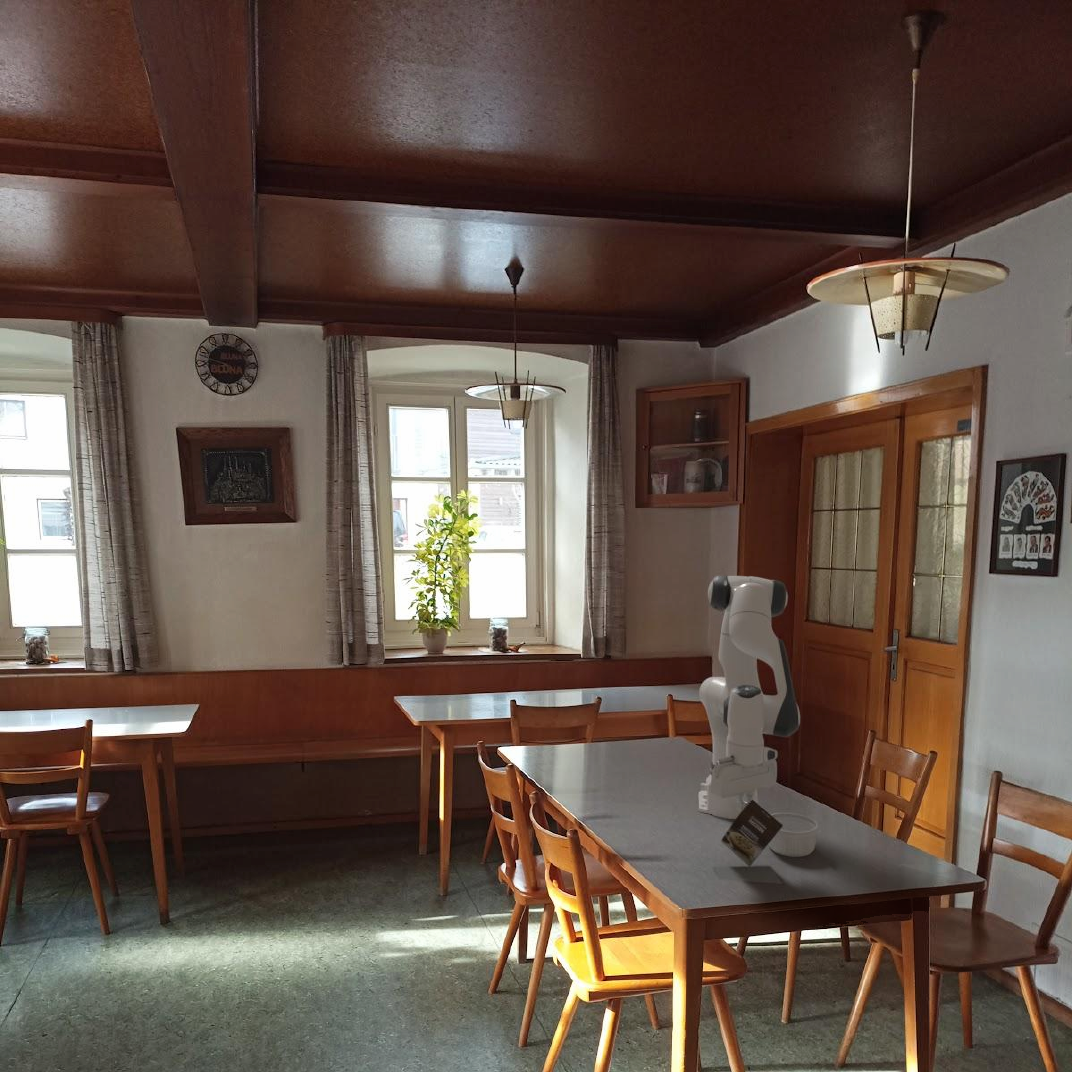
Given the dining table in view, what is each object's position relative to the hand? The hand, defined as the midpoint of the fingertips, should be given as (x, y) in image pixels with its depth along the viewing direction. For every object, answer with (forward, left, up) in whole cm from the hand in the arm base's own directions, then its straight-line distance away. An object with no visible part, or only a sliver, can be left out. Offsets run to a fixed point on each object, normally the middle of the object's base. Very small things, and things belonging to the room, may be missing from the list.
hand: (743, 809), depth 209 cm
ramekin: (-9, +15, -14) cm, 22 cm away
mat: (+7, -1, -14) cm, 15 cm away
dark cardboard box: (-2, 0, -10) cm, 10 cm away
